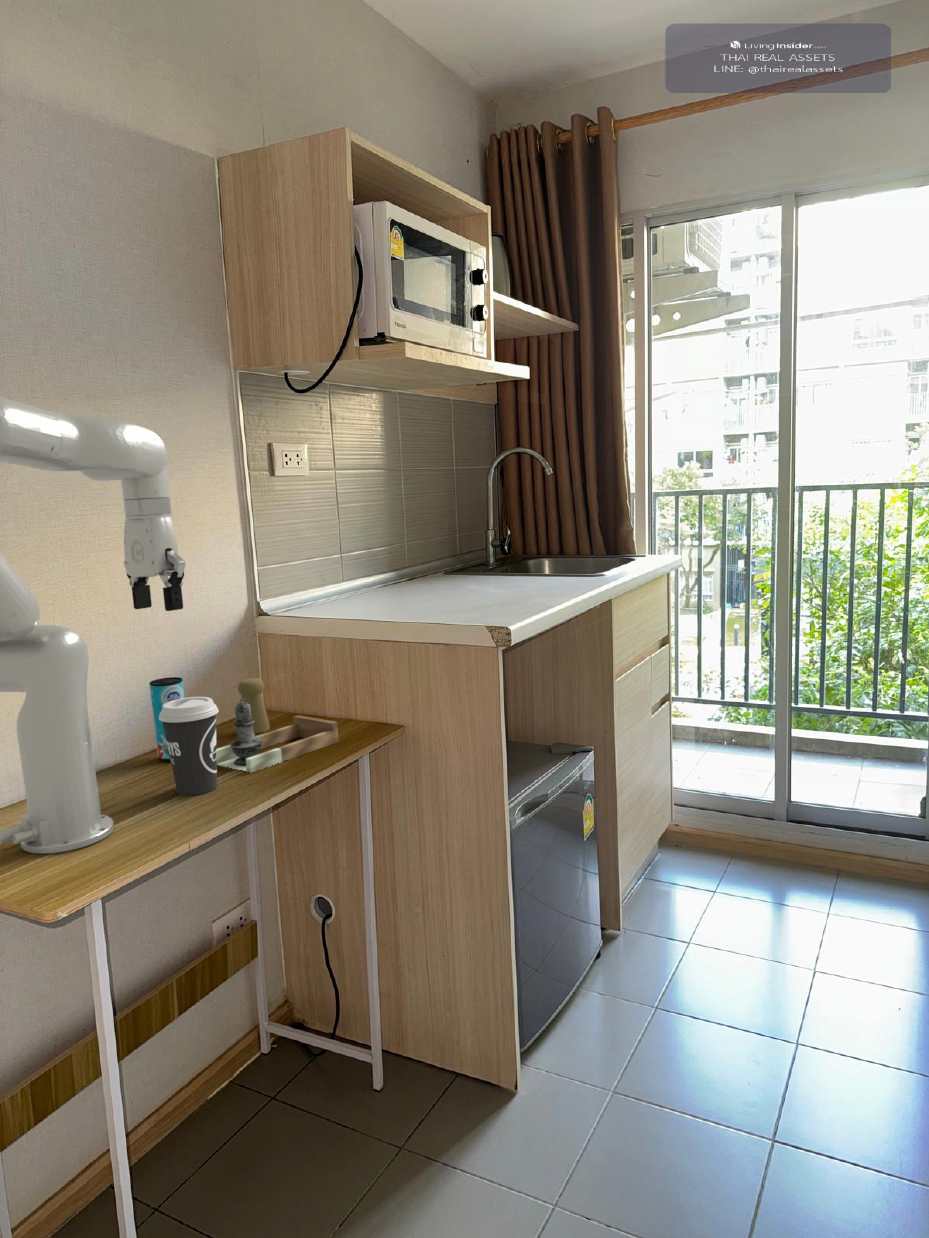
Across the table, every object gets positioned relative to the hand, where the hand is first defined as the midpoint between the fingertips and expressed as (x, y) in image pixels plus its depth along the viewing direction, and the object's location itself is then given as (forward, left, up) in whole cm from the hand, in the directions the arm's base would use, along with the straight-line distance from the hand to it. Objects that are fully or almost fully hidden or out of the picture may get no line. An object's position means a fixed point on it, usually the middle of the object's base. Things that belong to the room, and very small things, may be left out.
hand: (158, 609), depth 152 cm
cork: (+26, +10, -30) cm, 41 cm away
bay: (+17, -7, -30) cm, 35 cm away
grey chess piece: (+11, -7, -30) cm, 32 cm away
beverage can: (+6, +9, -30) cm, 32 cm away
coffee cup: (-3, -11, -30) cm, 32 cm away
